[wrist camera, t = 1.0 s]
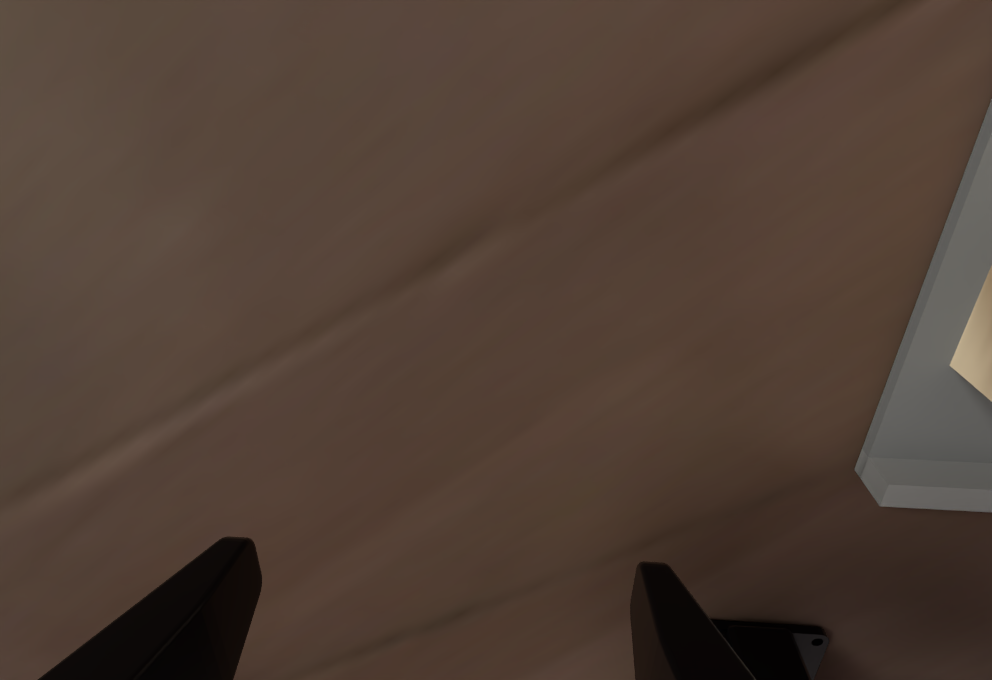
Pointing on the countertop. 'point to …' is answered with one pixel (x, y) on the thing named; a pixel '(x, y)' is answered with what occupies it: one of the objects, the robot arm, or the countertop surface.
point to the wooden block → (977, 343)
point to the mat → (940, 371)
